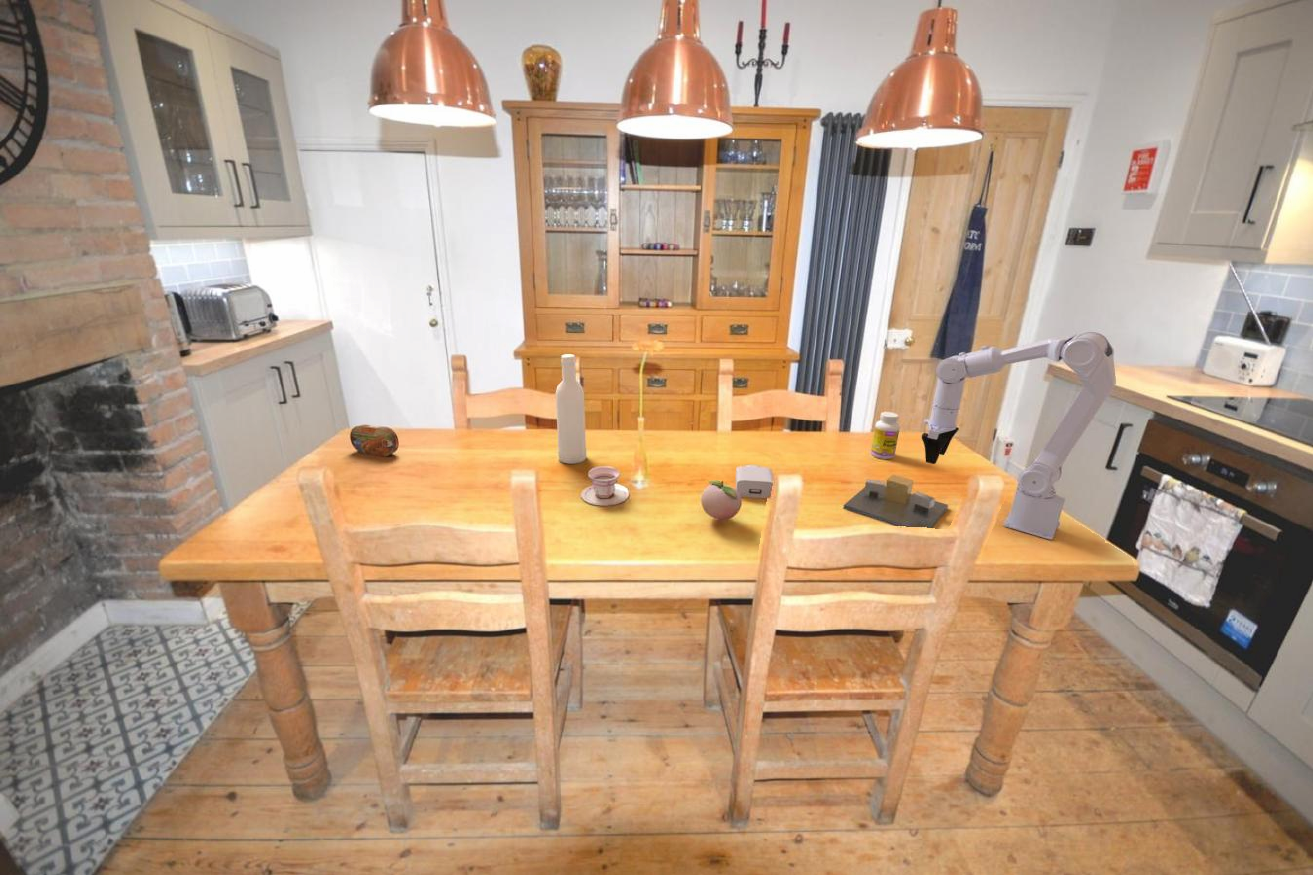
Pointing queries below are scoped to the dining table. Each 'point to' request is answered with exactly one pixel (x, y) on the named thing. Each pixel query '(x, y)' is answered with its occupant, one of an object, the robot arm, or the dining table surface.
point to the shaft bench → (896, 507)
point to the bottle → (570, 414)
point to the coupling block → (898, 489)
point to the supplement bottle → (885, 436)
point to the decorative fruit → (721, 501)
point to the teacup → (604, 487)
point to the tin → (374, 440)
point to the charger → (754, 481)
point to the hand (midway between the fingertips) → (935, 458)
